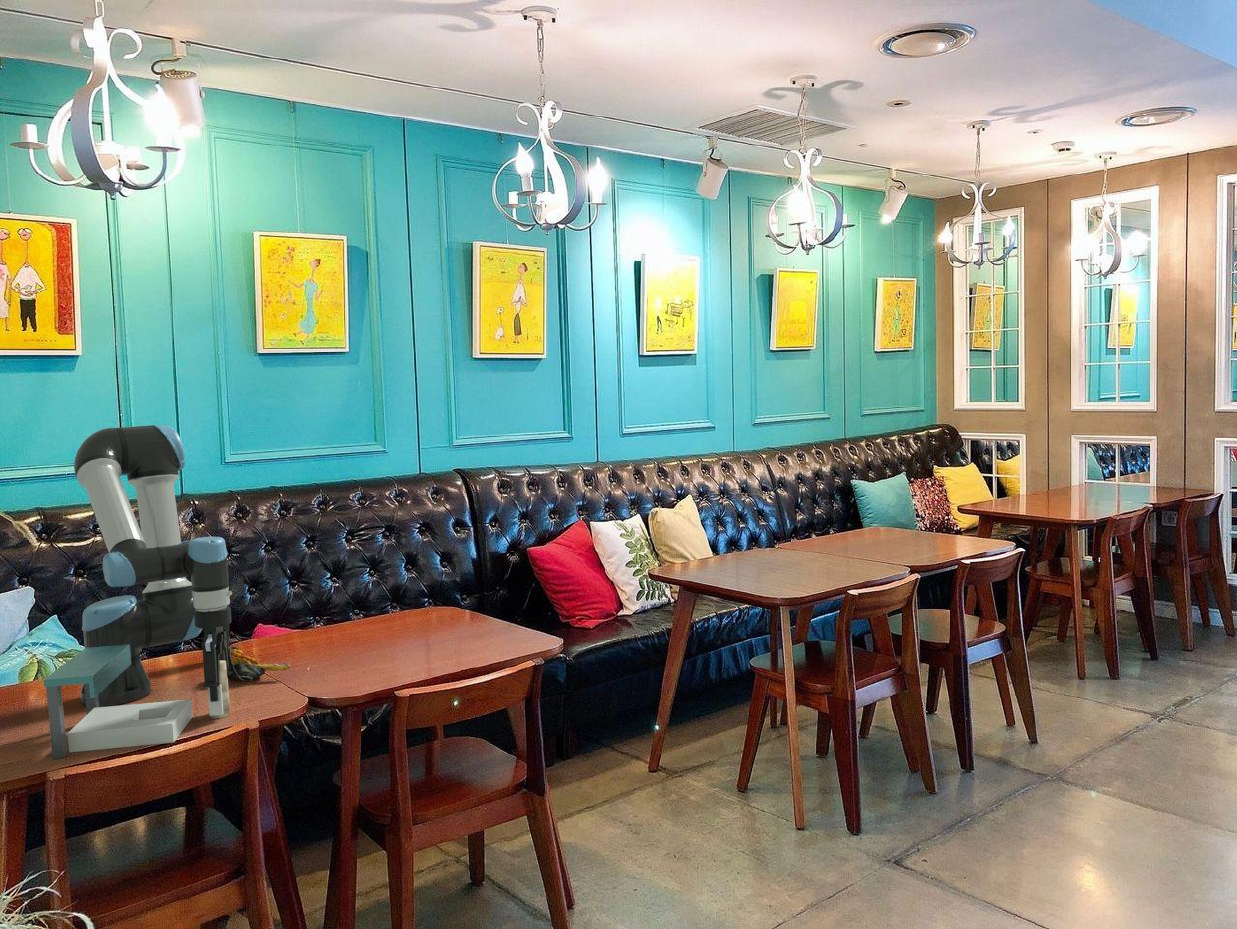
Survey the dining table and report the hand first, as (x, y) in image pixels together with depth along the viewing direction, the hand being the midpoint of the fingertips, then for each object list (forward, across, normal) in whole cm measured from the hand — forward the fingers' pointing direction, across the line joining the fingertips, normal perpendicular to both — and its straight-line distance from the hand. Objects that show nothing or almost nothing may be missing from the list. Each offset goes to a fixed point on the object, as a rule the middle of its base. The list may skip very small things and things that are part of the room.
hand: (219, 709), depth 219 cm
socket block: (+1, -7, +16) cm, 18 cm away
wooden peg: (+1, 0, 0) cm, 1 cm away
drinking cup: (+2, +47, +10) cm, 48 cm away
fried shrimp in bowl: (+2, +27, -2) cm, 27 cm away
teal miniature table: (+1, -7, +24) cm, 25 cm away
